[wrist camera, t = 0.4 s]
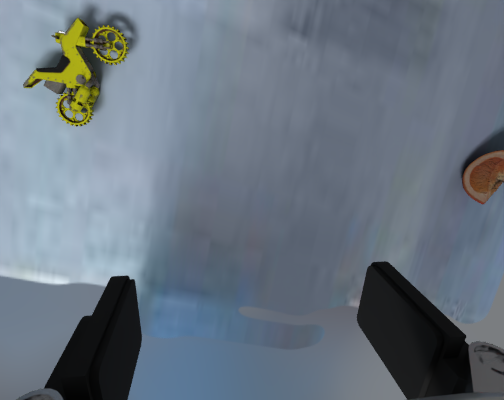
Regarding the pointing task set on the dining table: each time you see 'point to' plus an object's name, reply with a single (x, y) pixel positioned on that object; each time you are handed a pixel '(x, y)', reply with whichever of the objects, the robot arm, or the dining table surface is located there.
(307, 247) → the dining table surface
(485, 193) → the fruit slice
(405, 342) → the robot arm
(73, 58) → the toy motorcycle
